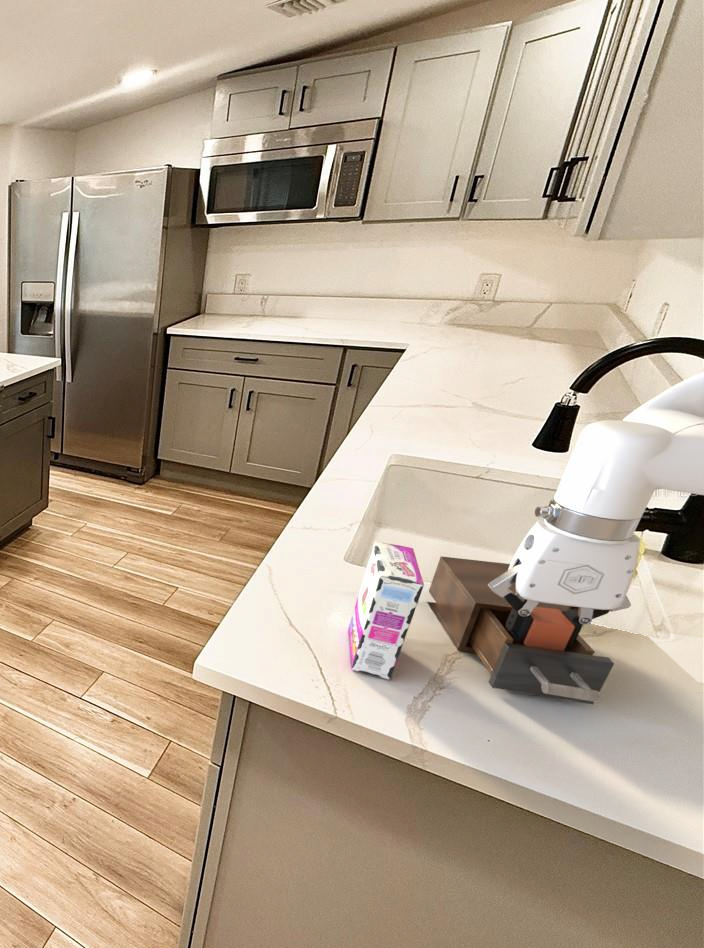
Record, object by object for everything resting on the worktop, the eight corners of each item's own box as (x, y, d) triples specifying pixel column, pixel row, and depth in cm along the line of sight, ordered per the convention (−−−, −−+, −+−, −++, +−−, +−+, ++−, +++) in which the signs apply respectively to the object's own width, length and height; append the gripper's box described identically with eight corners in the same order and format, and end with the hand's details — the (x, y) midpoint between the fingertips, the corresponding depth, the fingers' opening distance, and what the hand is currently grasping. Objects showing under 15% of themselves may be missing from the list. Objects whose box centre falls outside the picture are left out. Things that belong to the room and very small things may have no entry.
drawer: (615, 731, 76) (638, 688, 73) (508, 712, 79) (526, 671, 77) (543, 645, 90) (560, 607, 87) (455, 632, 94) (469, 596, 91)
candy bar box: (393, 682, 86) (426, 584, 80) (350, 671, 89) (378, 576, 82) (385, 637, 95) (415, 546, 88) (346, 629, 98) (372, 539, 91)
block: (547, 633, 84) (558, 609, 83) (563, 651, 81) (575, 626, 79) (510, 628, 86) (520, 604, 84) (524, 645, 82) (535, 621, 81)
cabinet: (558, 665, 87) (582, 616, 84) (457, 650, 92) (475, 602, 88) (513, 611, 99) (532, 566, 95) (425, 600, 103) (440, 556, 100)
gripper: (518, 525, 76) (471, 644, 83) (706, 543, 70) (637, 669, 77) (491, 500, 82) (449, 612, 90) (661, 514, 76) (602, 633, 84)
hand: (537, 637), depth 83 cm, fingers closed on block, 4 cm apart
